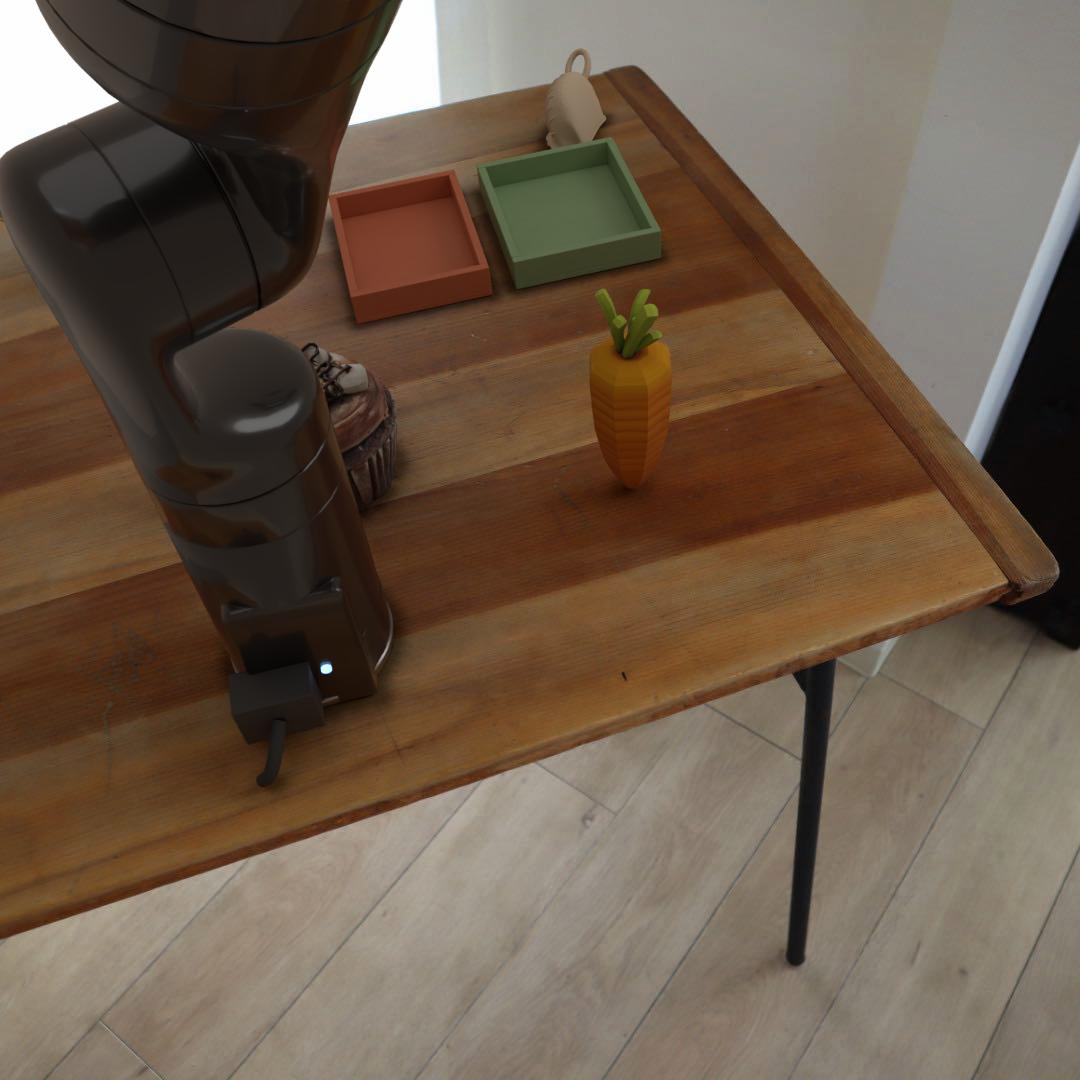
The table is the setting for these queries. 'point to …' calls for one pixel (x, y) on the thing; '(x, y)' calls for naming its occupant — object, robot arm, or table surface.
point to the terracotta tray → (409, 246)
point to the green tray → (568, 212)
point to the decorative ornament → (572, 106)
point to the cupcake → (359, 421)
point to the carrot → (631, 391)
